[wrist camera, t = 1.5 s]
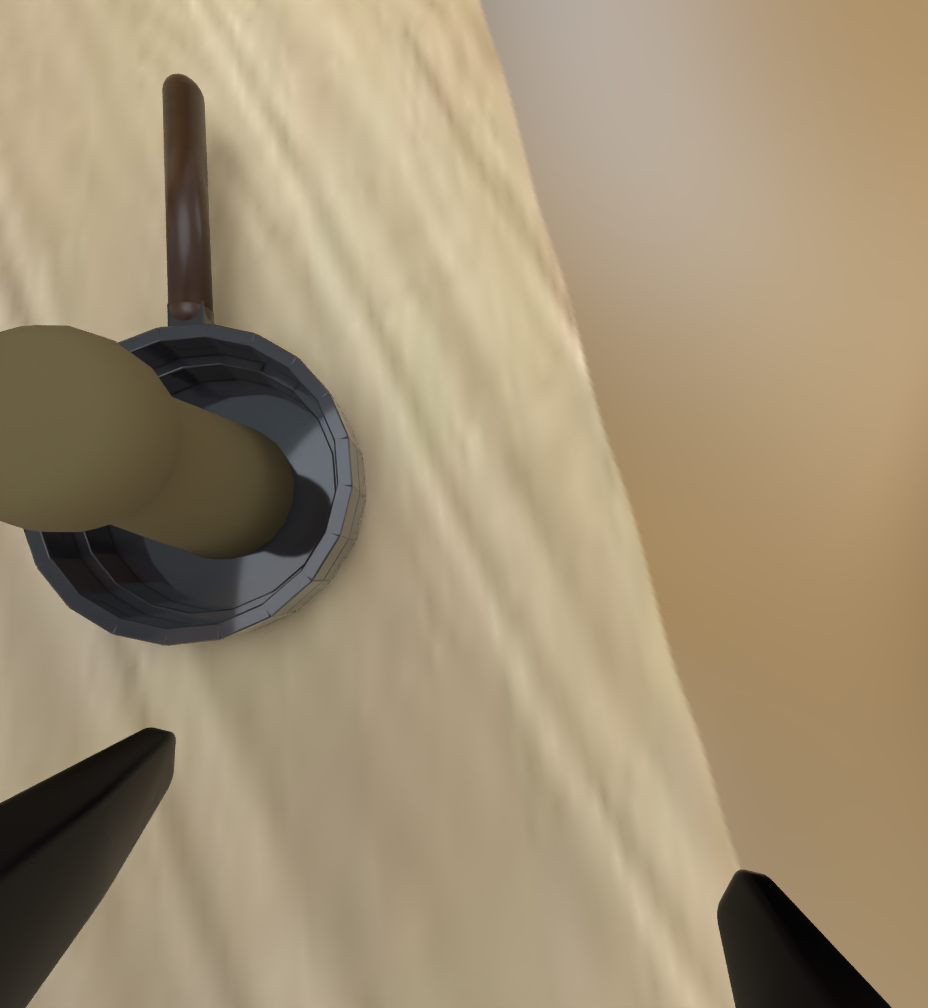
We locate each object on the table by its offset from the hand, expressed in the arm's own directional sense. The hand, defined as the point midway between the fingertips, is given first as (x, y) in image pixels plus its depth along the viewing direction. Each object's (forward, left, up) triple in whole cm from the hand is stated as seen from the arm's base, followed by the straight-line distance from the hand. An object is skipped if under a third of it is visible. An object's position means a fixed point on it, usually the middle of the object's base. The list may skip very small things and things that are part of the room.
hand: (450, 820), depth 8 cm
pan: (0, +12, -14) cm, 19 cm away
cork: (0, +12, -14) cm, 19 cm away
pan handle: (+8, +21, -12) cm, 25 cm away
